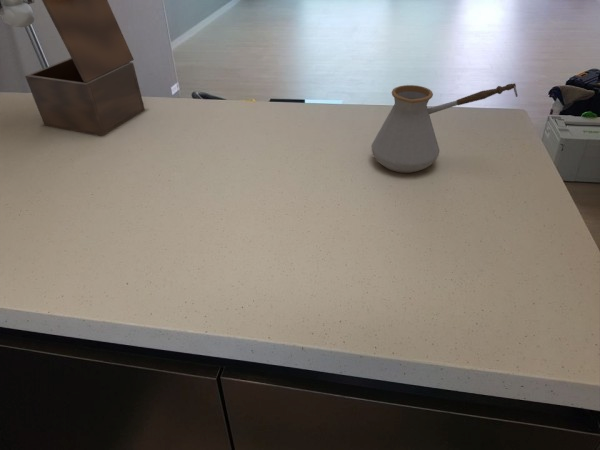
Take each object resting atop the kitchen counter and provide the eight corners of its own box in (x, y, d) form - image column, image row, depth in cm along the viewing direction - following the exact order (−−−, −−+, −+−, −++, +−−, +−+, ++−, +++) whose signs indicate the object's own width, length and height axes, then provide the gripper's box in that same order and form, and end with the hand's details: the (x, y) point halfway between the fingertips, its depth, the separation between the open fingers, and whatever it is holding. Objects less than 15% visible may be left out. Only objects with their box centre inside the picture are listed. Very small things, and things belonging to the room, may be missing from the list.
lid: (34, -13, 76) (54, -21, 74) (92, -27, 86) (111, -34, 84) (84, 82, 85) (103, 78, 82) (131, 60, 95) (149, 56, 92)
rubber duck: (20, 31, 79) (0, -20, 74) (-5, 29, 81) (-26, -22, 76) (46, 24, 83) (28, -26, 78) (20, 21, 85) (2, -27, 80)
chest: (44, 126, 96) (24, 75, 90) (90, 102, 106) (75, 55, 100) (102, 137, 91) (86, 84, 85) (145, 111, 101) (133, 62, 95)
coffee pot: (367, 177, 77) (373, 90, 68) (373, 145, 86) (379, 65, 76) (501, 188, 73) (527, 98, 64) (492, 154, 82) (514, 71, 73)
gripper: (17, -91, 80) (46, -5, 89) (-102, -82, 66) (-53, 20, 74) (43, -92, 78) (70, -4, 87) (-73, -82, 64) (-27, 23, 72)
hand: (13, 7), depth 80 cm, fingers closed on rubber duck, 5 cm apart
